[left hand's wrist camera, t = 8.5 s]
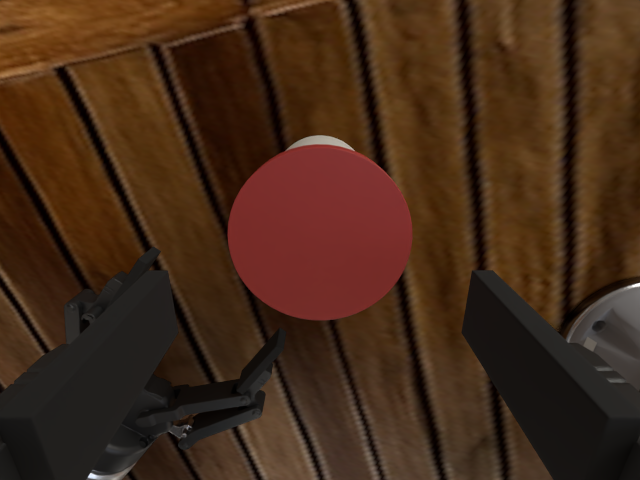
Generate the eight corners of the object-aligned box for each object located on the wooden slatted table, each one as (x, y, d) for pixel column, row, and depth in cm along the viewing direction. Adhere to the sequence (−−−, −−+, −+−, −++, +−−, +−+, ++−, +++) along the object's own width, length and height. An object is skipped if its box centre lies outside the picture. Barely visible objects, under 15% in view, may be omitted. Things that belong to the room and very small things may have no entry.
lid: (439, 241, 21) (448, 251, 20) (311, 333, 23) (310, 349, 22) (331, 103, 18) (332, 102, 17) (198, 222, 21) (188, 231, 19)
